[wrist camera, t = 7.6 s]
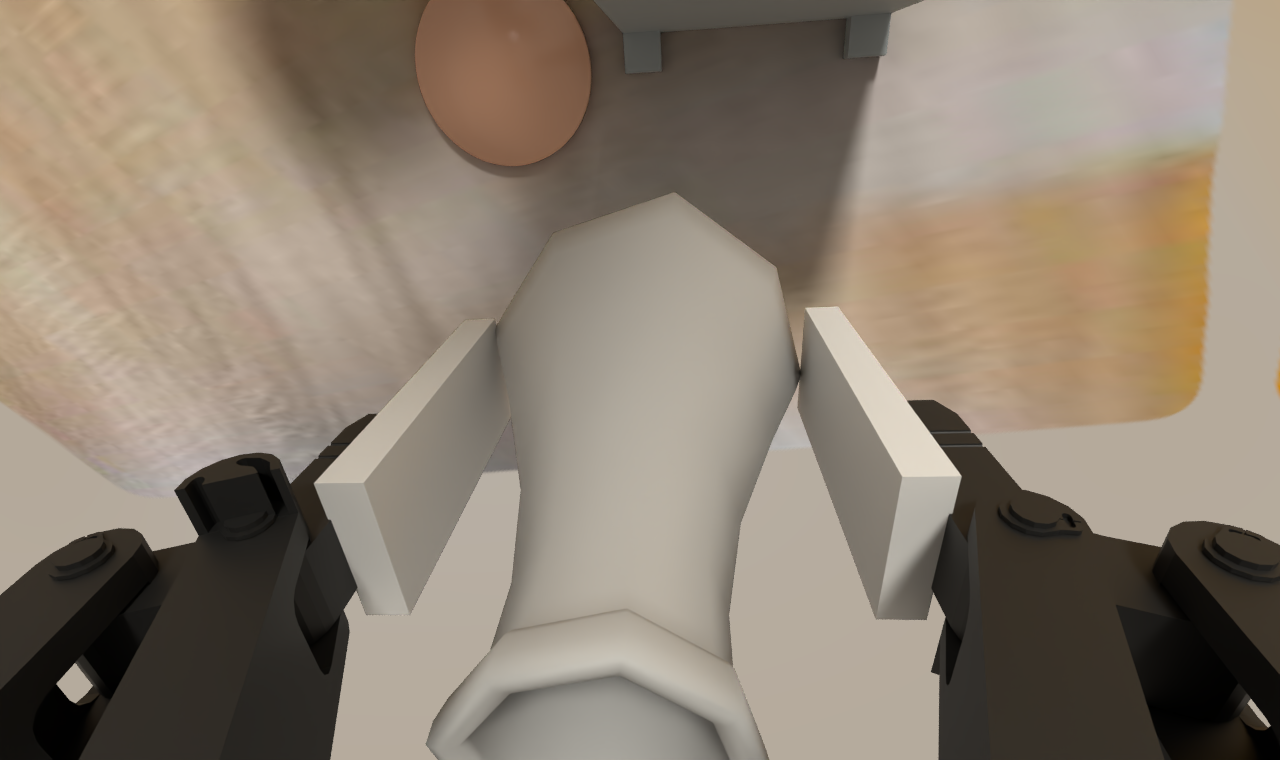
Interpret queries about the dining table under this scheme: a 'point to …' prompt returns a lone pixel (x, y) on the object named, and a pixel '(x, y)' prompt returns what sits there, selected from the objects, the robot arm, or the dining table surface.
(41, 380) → the dining table surface
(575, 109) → the coaster
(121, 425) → the dining table surface
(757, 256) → the flask
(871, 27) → the screen
